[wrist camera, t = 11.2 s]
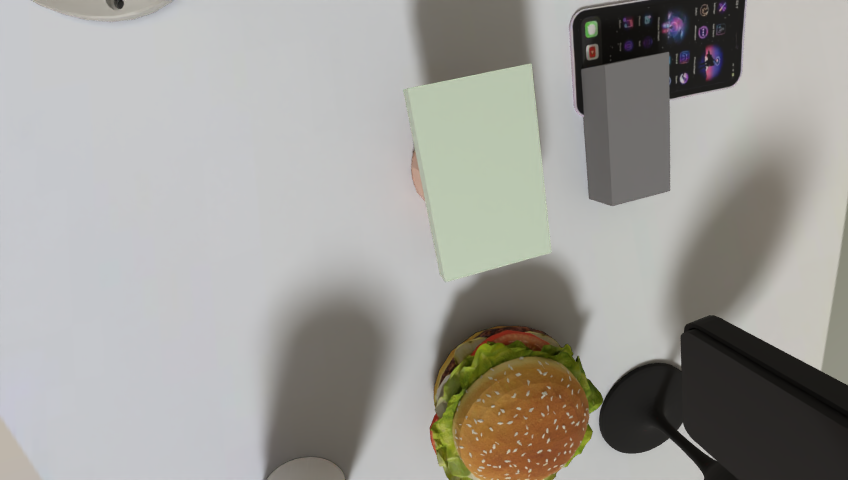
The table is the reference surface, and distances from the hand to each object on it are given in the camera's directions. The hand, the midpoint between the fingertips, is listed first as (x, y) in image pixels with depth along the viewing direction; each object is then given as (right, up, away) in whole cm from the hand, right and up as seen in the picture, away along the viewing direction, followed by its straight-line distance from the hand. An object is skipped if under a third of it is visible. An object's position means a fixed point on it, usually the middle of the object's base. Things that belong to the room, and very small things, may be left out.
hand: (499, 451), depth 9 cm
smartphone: (+16, +19, +24) cm, 35 cm away
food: (+5, -9, +29) cm, 31 cm away
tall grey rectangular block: (+13, +13, +25) cm, 31 cm away
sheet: (+2, +9, +19) cm, 20 cm away
